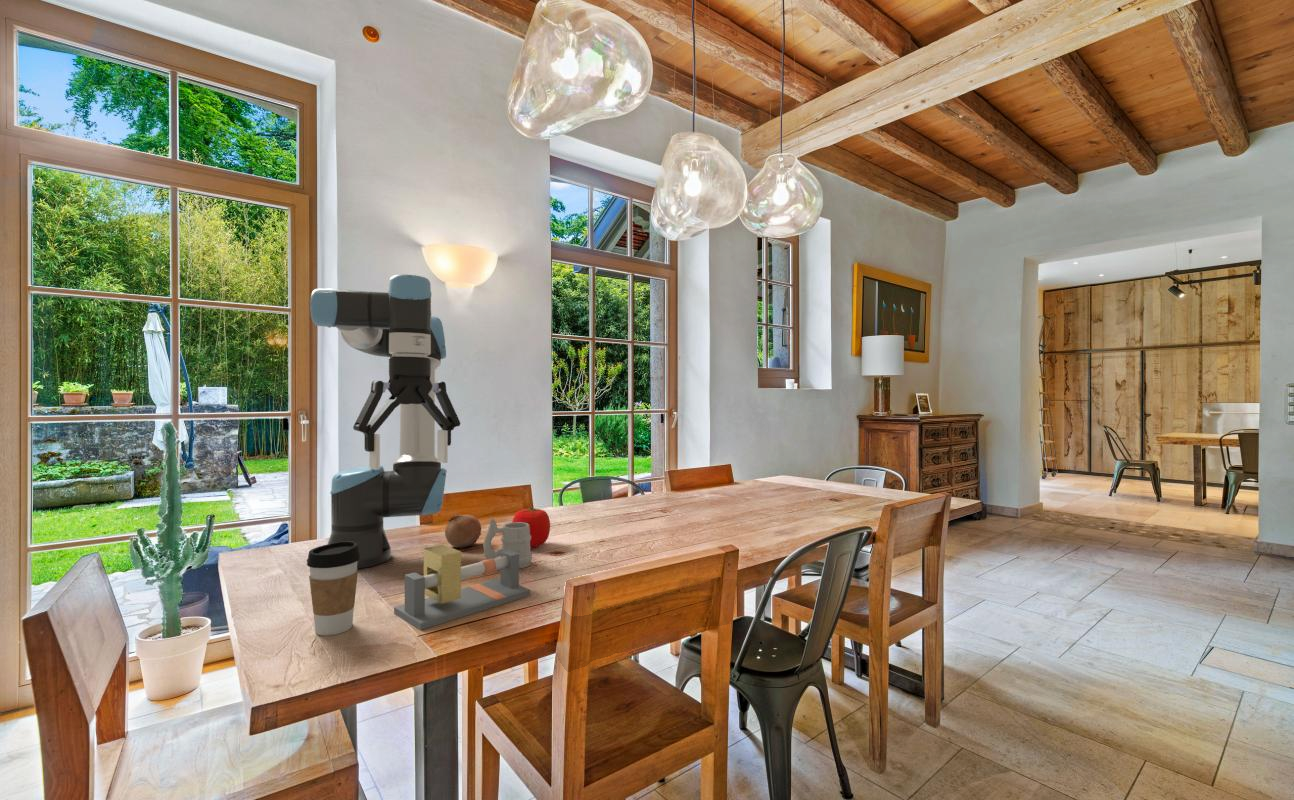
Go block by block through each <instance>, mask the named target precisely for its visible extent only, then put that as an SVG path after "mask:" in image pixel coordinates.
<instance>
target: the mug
mask: <svg viewBox="0 0 1294 800" xmlns="http://www.w3.org/2000/svg"><path fill="white" fill-rule="evenodd" d="M489 522H490V523H489V526H488V529H487V532H486V535H485V537H484V541H483V543H482V548H483V555H484V558H485V560H487V559H491V558H492V559H495V558H499V557H501V552H503V551H507V550H510V551H512V552H515V553H518V554H519V569H525V568H528V567H530V566H531V565H532V564H531V563H532V562H531V561H532V560H533V554H532V553H531V548H530V540H531V535H530V527H529V524H528V523H523V522H515V523H512V522H509V523H505V524H504V525H503V526H502V527H498V524H497V522H496V521H495V519H494V518H490V519H489ZM500 533H502V536H501V539H500V540H501V542H502V544H501V545H502V547H501V548H499V549H497V550H494V549H493V548H492V540H493V539H494V537H495V536H496V534H500Z"/></svg>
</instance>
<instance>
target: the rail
mask: <svg viewBox="0 0 1294 800" xmlns="http://www.w3.org/2000/svg"><path fill="white" fill-rule="evenodd" d="M499 570H500V577H499V578H496V579H491V580H487V581H483V582H480V583H476V584H471V585H468V586H466V587H461V598H460V599H456V600H453V601H450V602H446V603H443V604H441V603H439V602H437V601H435V600H433V599H432V598H430V597H426V595H425V589H427V588H430V587H434V586H438V573H434V574H430V575H426V576H424V575H421V574H419V573H417V572H411V573H407V574H404V604H400V605H397V606H396V605H395V606H394V607H393V613H394V614H395V616H398V617H400V618H401V619H403V620H404V621H405V622H407V623H408V624H410V625H411V626H413V627H415V628H416V629H417V630H420V631H422V630H425V629H428V628H431V627H435V626H437V625H440V624H441V625H442V624H444V623H447V622H451V621H454V620H457V619H460V618H464V617H466V616H469V615H472V614H476V613H478V612H482V611H485V610H488V609H493V608H494V607H498V606H501V605H505V604H506V603H507V604H508V603H510V602H514V601H517V600H521V599H524V598H526V597H530V596H531V594H532V593H531V592H532V590H531V589H530V588H527V587H525V586H523V585H520V568H519V554H518V553H515V552H512V551H510V550H507V551H503V552H501V556H499V557H497V558H495V559H492V558H491V559H484V560H480V561H479V562H475V563H472V564H468V565H464V566H461V580H464V579H468V578H472V577H475V576H478V575H479V576H480V575H487V574H491V573H494V572H495V571H499ZM425 597H426V598H425Z"/></svg>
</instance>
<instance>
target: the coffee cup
mask: <svg viewBox="0 0 1294 800" xmlns="http://www.w3.org/2000/svg"><path fill="white" fill-rule="evenodd" d="M359 556H360V553H359V549H358V543H357V542H354V541H341V542H336V543H331V544H328V543H326V544H324V545H319V546H317V547H314V548H312V549H310V550H309V552H308V557H307V559H306V566H307V567H309V573H310V575H309V579H308V580H309V586H310V588H309V589H310V595H311V596H310V597H311V604H312V605H311V606H312V613H313V619H314V623H313V624H314V632H315V634H316V635H319V636H322V637H323V636H327V637H329V636H334V635H339V634H342V633H345V632H347V631H349V630H351V628H353V624H354V623H353V622H354V610H355V602H356V601H355V600H356V593H357V592H356V591H357V583H358V574H359V573H358V571H359V570H358V569H359V568H358V569H357V561H358V560H359V559H360V557H359Z"/></svg>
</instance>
